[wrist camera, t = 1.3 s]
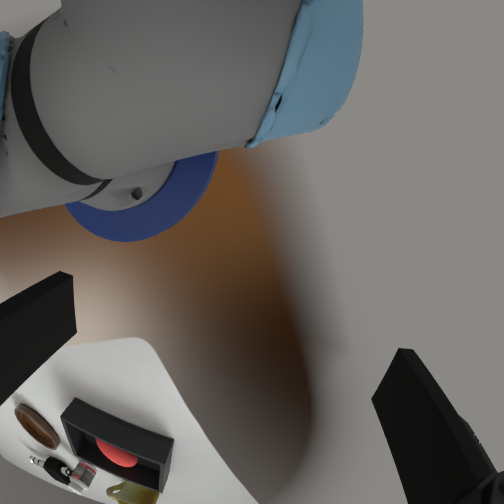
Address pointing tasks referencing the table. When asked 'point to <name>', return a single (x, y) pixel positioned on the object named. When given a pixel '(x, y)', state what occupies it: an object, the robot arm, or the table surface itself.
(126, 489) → the mug
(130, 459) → the stress ball
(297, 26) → the robot arm
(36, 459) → the audio adapter
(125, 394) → the table surface
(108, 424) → the bin
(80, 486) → the pill bottle
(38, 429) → the plate
